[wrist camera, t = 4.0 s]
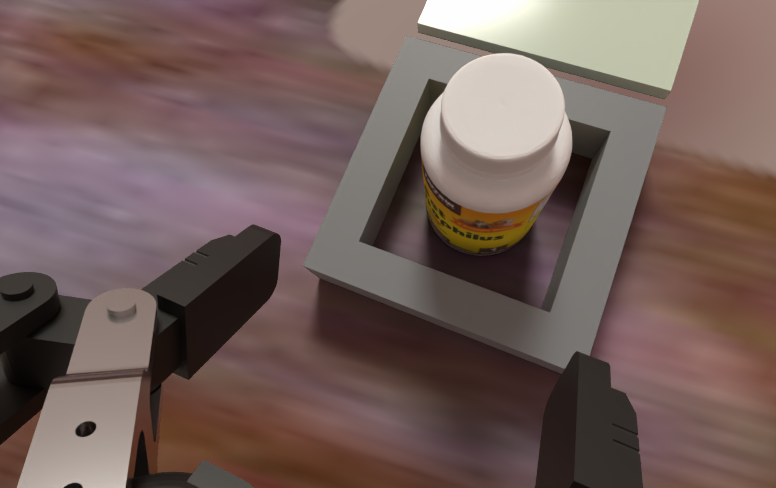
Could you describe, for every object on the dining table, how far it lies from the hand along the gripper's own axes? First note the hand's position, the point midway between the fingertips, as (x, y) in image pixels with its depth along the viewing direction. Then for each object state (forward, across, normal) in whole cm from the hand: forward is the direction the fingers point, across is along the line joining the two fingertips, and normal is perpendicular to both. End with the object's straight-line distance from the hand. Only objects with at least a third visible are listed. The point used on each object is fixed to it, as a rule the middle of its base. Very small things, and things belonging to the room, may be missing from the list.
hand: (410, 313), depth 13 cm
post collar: (+14, 0, +3) cm, 14 cm away
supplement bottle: (+14, 0, +3) cm, 14 cm away
